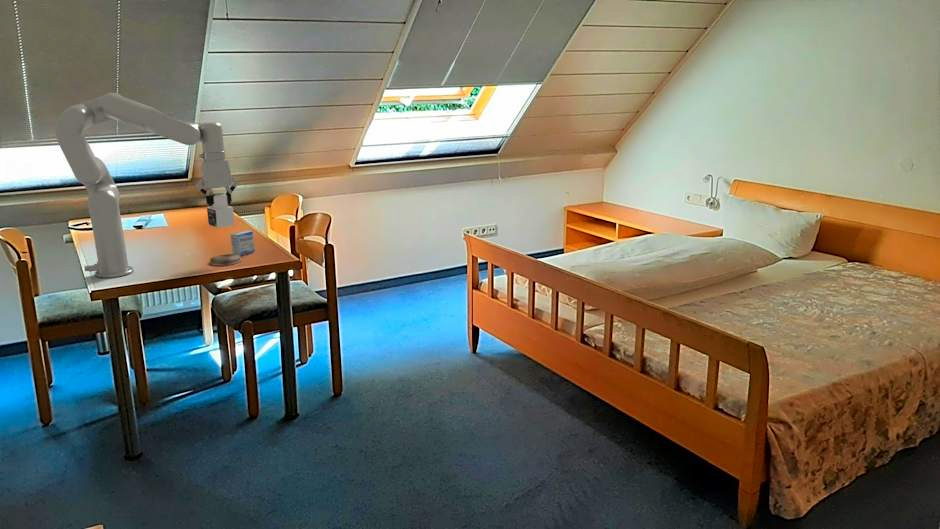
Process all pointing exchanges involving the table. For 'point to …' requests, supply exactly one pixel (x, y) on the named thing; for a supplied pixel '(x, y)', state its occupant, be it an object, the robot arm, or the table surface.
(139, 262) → the table surface
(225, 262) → the grey flat disc
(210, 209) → the medicine bottle
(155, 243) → the table surface
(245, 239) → the medicine box
